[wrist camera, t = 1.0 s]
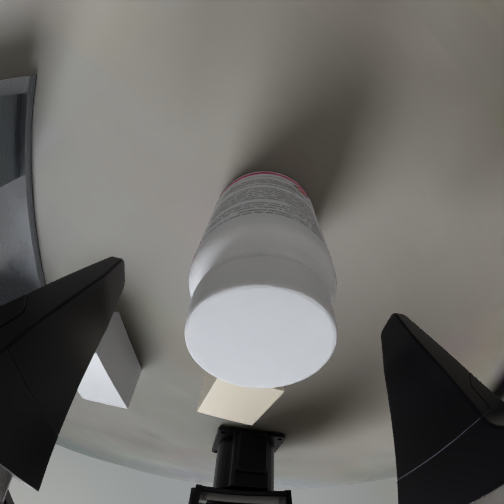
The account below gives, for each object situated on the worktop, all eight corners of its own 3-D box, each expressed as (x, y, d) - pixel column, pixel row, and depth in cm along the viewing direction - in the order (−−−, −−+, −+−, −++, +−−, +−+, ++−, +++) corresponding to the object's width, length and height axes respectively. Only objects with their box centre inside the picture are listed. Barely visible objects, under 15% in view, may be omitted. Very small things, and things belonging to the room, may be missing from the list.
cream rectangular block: (253, 387, 22) (251, 425, 19) (204, 373, 21) (197, 411, 18) (283, 349, 19) (284, 391, 16) (226, 331, 19) (219, 373, 16)
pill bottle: (198, 195, 14) (132, 306, 7) (288, 152, 13) (318, 231, 6) (243, 271, 16) (226, 408, 9) (326, 237, 15) (370, 368, 8)
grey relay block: (142, 368, 21) (127, 408, 18) (100, 362, 22) (83, 398, 18) (119, 310, 19) (96, 353, 15) (74, 306, 19) (48, 343, 15)
